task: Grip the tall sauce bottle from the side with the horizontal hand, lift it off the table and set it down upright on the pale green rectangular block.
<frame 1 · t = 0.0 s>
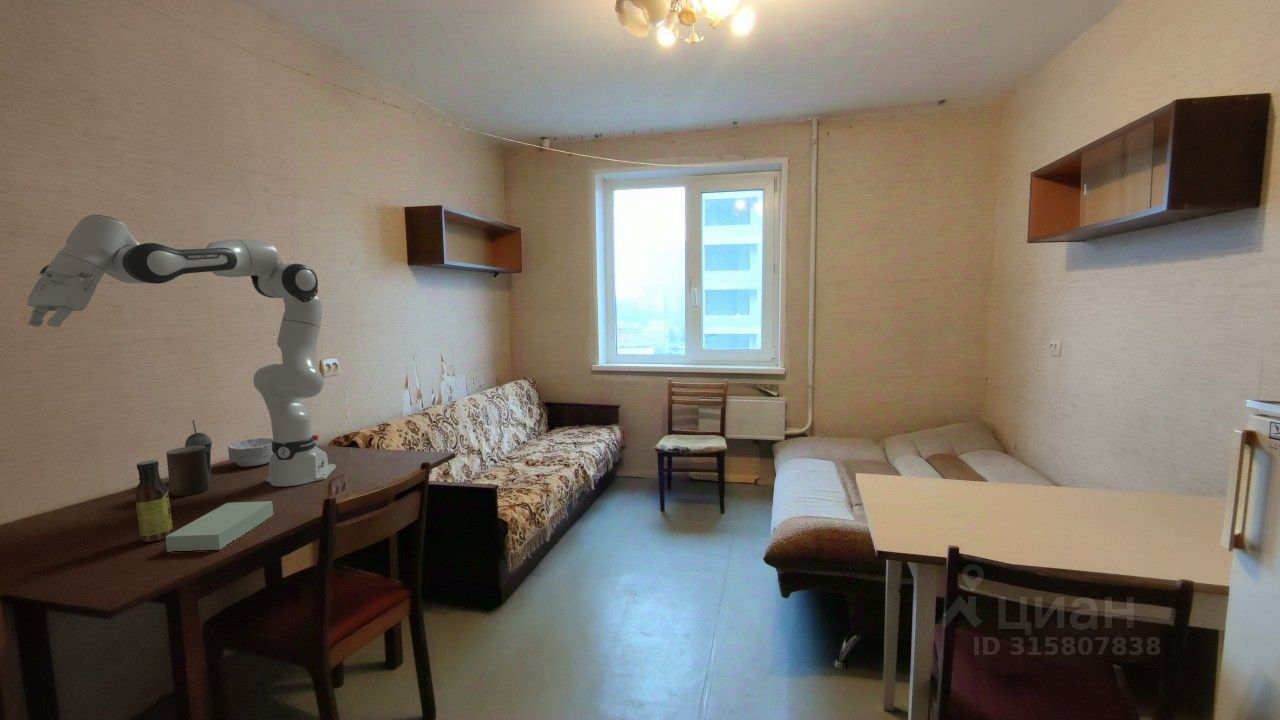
hand: (42, 326, 127), 54 cm above the table, tool tilted 30°, fingers open, 8 cm apart
pale green rectangular block: (224, 532, 142), on the table
paper bowls: (255, 463, 203), on the table
pillar candle: (190, 492, 174), on the table
sauce bottle: (157, 538, 139), on the table
beverage cup: (201, 478, 187), on the table
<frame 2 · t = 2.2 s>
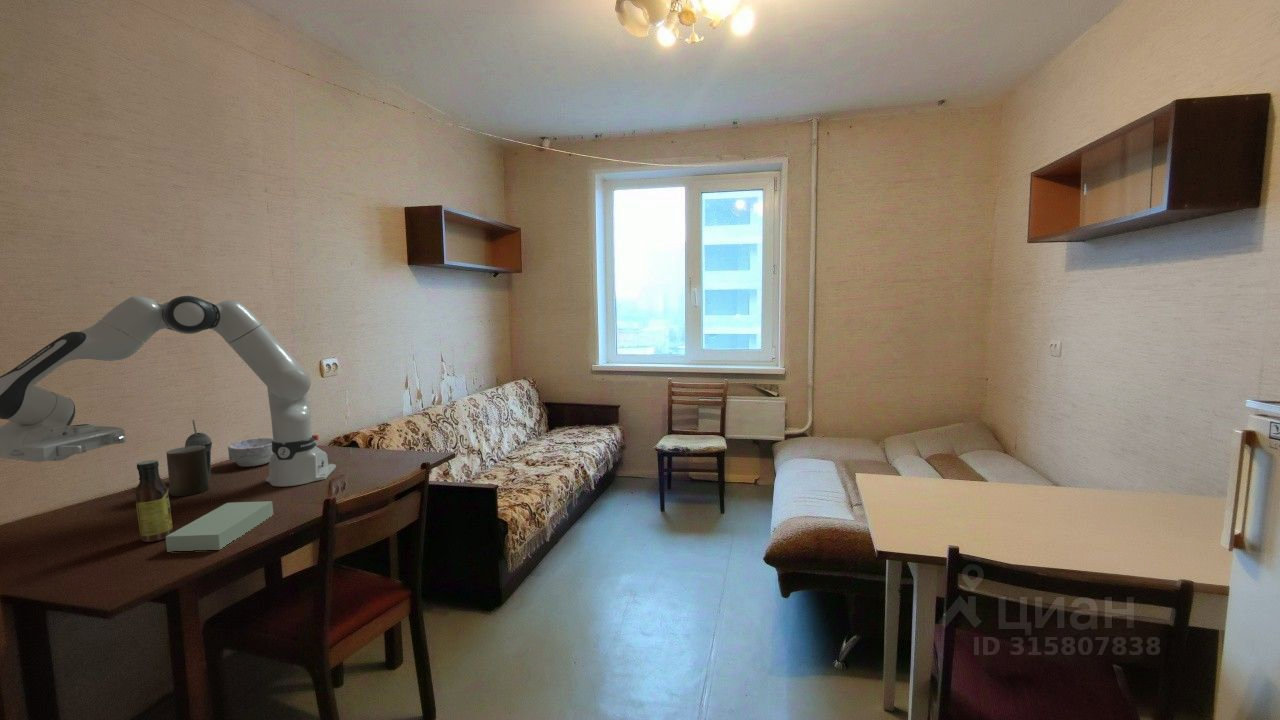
hand: (103, 444, 138), 24 cm above the table, tool horizontal, fingers open, 8 cm apart
nothing on the table moved.
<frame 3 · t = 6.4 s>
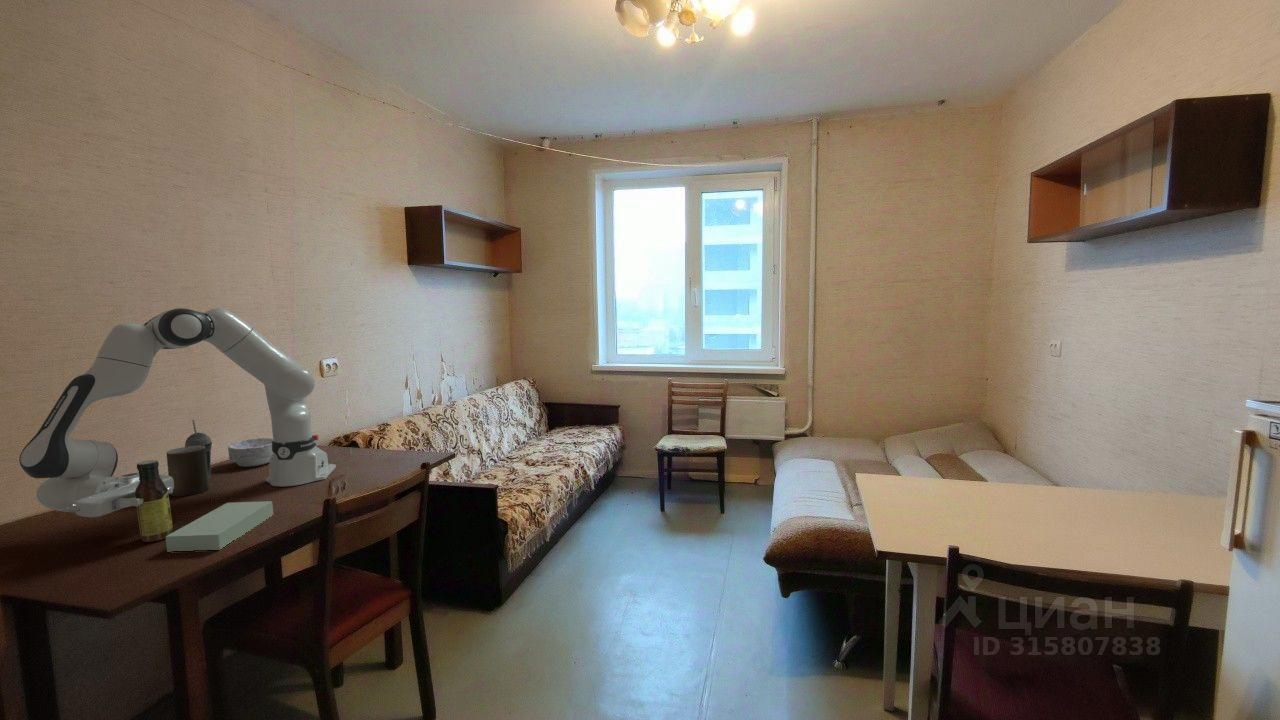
hand: (155, 496, 138), 11 cm above the table, tool horizontal, fingers closed on sauce bottle, 6 cm apart
sauce bottle: (157, 538, 139), on the table, touching gripper
everything else where it was.
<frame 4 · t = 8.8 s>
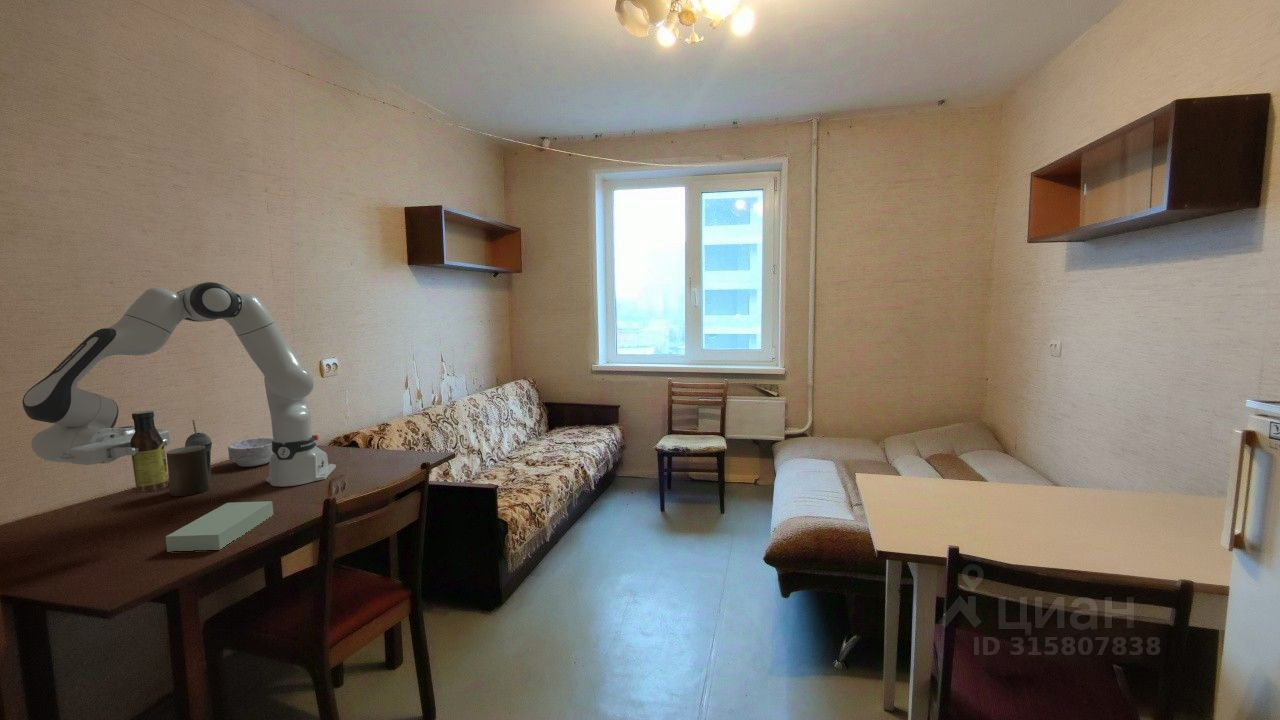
hand: (151, 446, 137), 24 cm above the table, tool horizontal, fingers closed on sauce bottle, 6 cm apart
sauce bottle: (152, 490, 138), point 13 cm above the table, touching gripper
everything else where it was.
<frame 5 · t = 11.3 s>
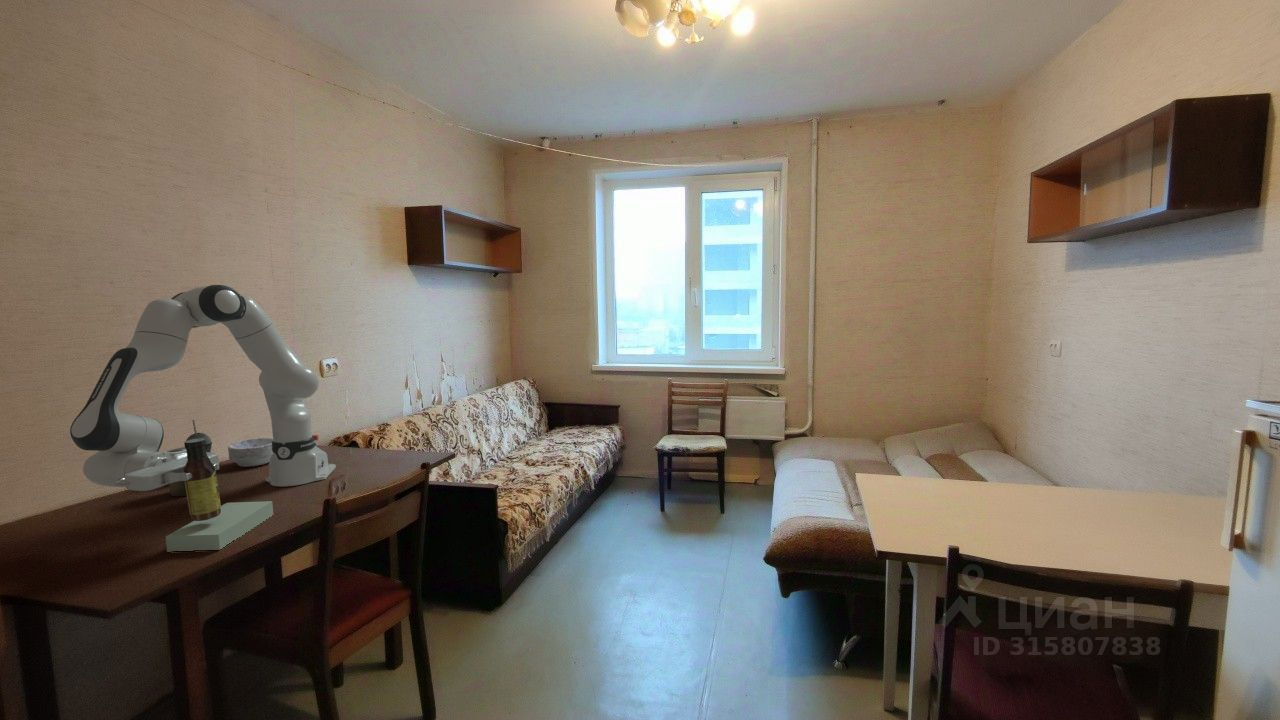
hand: (203, 471, 136), 18 cm above the table, tool horizontal, fingers closed on sauce bottle, 6 cm apart
sauce bottle: (206, 517, 138), point 6 cm above the table, touching gripper
everything else where it was.
when the fingers open (17 cm above the table, at t = 12.2 s): sauce bottle stays where it is, resting on pale green rectangular block.
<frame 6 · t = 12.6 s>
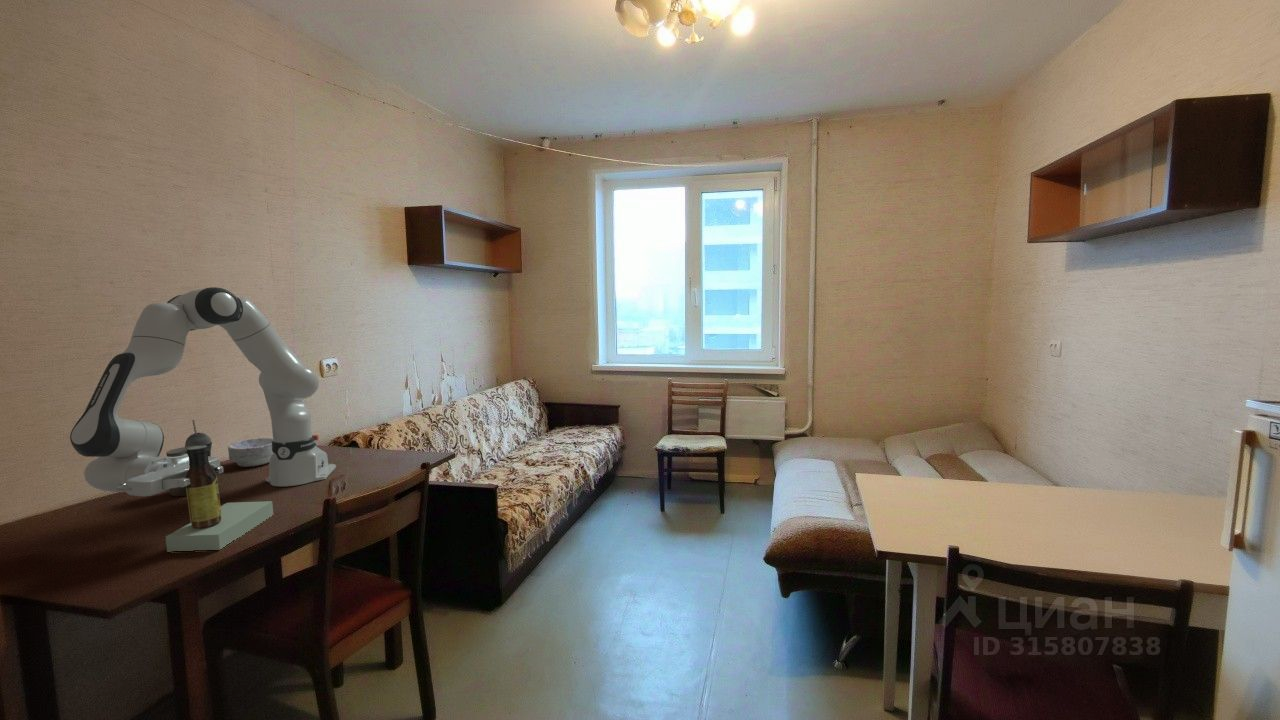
hand: (204, 476, 136), 17 cm above the table, tool horizontal, fingers open, 8 cm apart
sauce bottle: (206, 525, 138), point 4 cm above the table, touching pale green rectangular block
everything else where it was.
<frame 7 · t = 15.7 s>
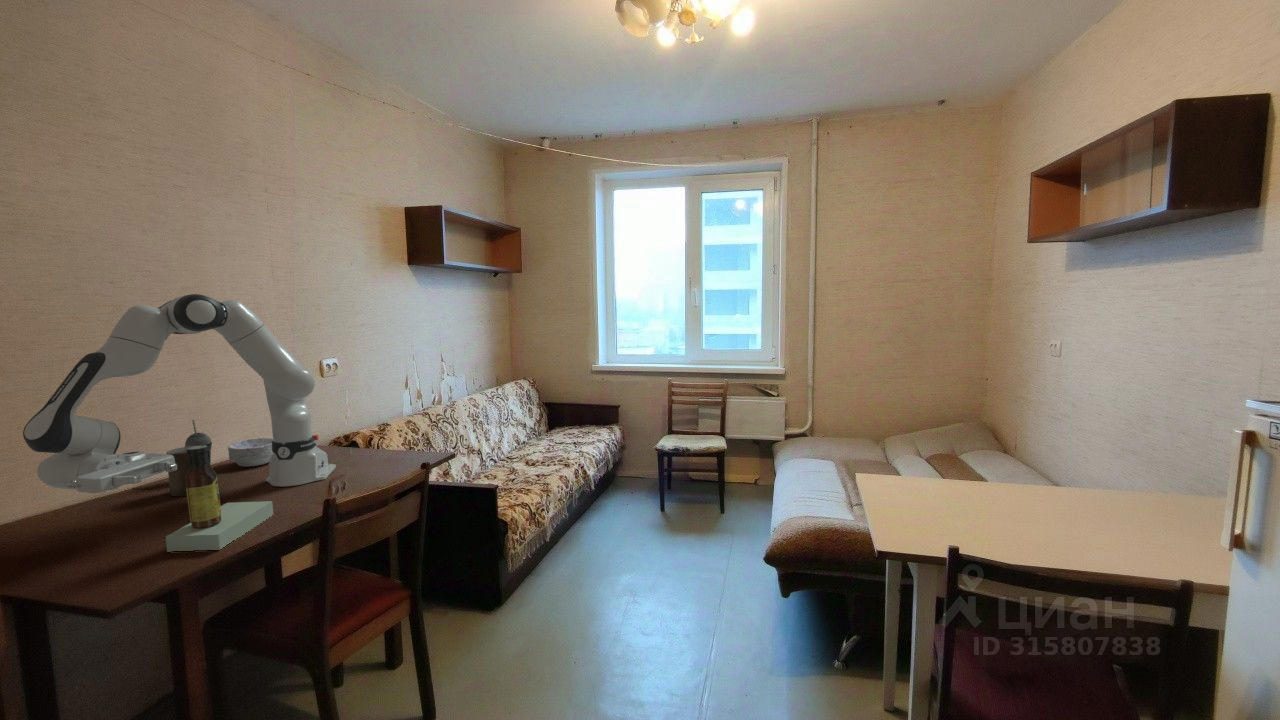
hand: (156, 473, 137), 17 cm above the table, tool horizontal, fingers open, 8 cm apart
nothing on the table moved.
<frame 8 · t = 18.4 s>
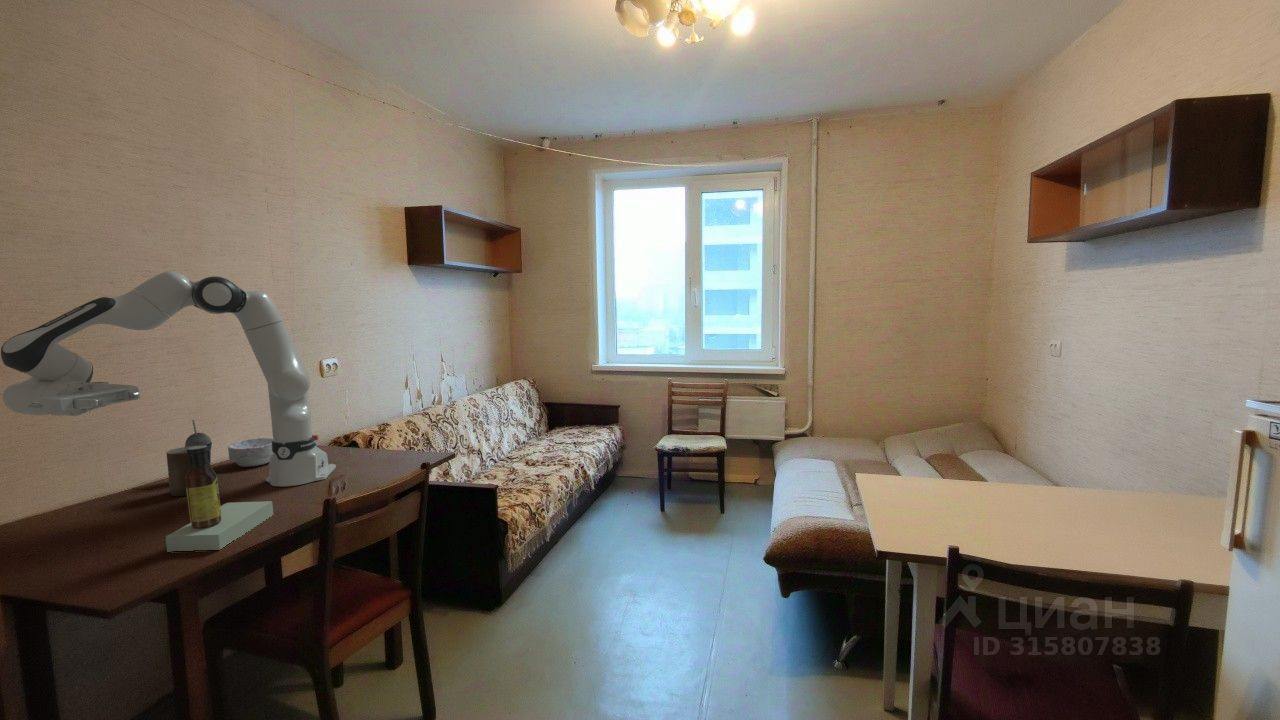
hand: (118, 399, 140), 35 cm above the table, tool horizontal, fingers open, 8 cm apart
nothing on the table moved.
at the end: sauce bottle inside the target area on the pale green rectangular block (3.9 cm from its centre), point 3.8 cm above the pale green rectangular block's base; sauce bottle tilted 0°; the gripper is holding nothing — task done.
